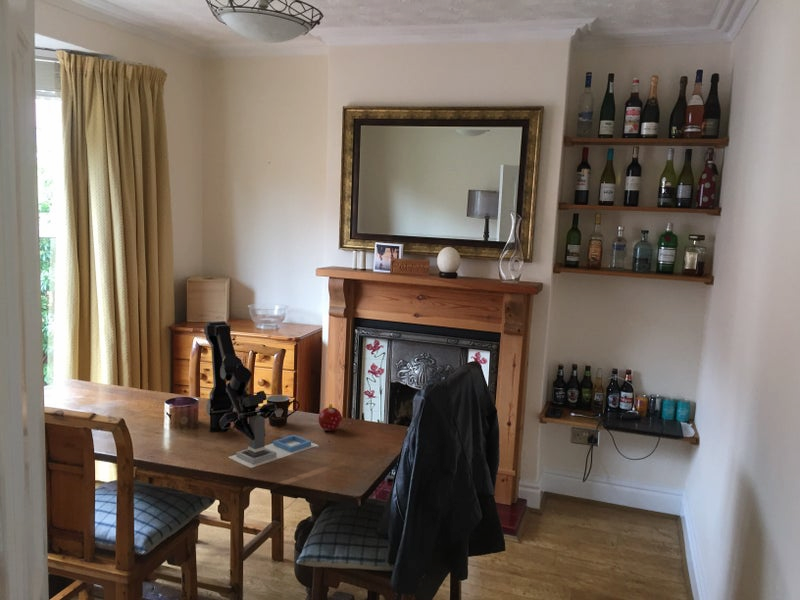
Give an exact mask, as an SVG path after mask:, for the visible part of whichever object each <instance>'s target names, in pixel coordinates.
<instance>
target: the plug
mask: <svg viewBox="0 0 800 600" xmlns="http://www.w3.org/2000/svg"><path fill="white" fill-rule="evenodd" d="M265 420H266V419H265V418H264V417H261V416H259V415H257V416H253V417H249V418H248V424H249V426H250V428H251V430H252V432H253V434H254V437H255V439H254V440H251V439H250V438H249V437H248V445H247V449H248V450H246V451H245V454H246V455H248V456H250V457H252V458H257V457H260V456H263V455H266V454H268V451H266V450H265V446H266V445H265V437H266V426H265V424H266V421H265Z"/></svg>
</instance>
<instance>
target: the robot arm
mask: <svg viewBox="0 0 800 600" xmlns="http://www.w3.org/2000/svg"><path fill="white" fill-rule="evenodd" d="M206 323H207V324H205V325H203V326H204V327H203V332H204V335H205V340H206V341H207V342H208V344H209V345H210V349H211V350H210V351H211V360H212V361H211V365H212V380H213V381H212V382H213V386H212V388H211V391H210V392H209V398H208V400H207V402H206V406H205V408H206V414H207V415H208V416H209V429H208V431H209V432H228V431H229V429H230V428H231V425H232V424H233V426H232V429H236V430H237V431H239V432H240V433H242V434H244V436H246V437H247V438H248V439H249V438H250V439H251V440H254V439H255V437H254V434H253V432H252V430H251V428H250V426H249V417H253V416H257V415H259V416H261V417H264V418H265V420H266V419H269V417H271V415H272V414H273V413H274V412H275V411H276V409H277V408H276V406H275V404H274V403H268V404H267V403H265V404H264V402H265V401H267V397H268V396H267V394H266V392H265V391H264V390H259V391H257V392H256V394H252V393H249V392H248V390H247V388H248V386H249V384H250V380H251V379H252V371H251V370H250V369H249V368H247V367H246V366H245V365H244V363H243V362H242V359H241V358H240V357H238V356H237V354H236V351H235V347H234V343H233V339H232V335H231V324H229V323H226V321H225V320H224V321H223V320H221V321H218V320H217V321H207V322H206ZM227 382H228V383H227ZM260 404H262V406H260V409H258V408H259V405H260ZM234 409H235V410H234Z"/></svg>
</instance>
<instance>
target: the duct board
mask: <svg viewBox="0 0 800 600" xmlns="http://www.w3.org/2000/svg"><path fill="white" fill-rule="evenodd" d="M264 446H265V450H266V451H268V454H266V455H263V456H260V457H257V458H252V457H250V456H248V455H246V454H245V451H246V450H248V448H246V449H242V450H240V451H236V453H235V454H234V455H230V456H228V458H229V459H231V460H233V461H235V462H237V463H239V464H241V465H244V466H246V467H248V468H250V469H252V468H254V467H257V466H261V465H264V464H268V463H270V462H273V461H277V460H279V459H282V458H285V457H288V456H291V455H294V454H298V453H301V452H303V451H306V450H308V449H312V448H319V447H320V446H319V444H316V443H314V442H312V441H311V440H309V439H306V438H304V437H302V436H298V435H296V434H291V435H289V436H286V437H282V438H278V439H274V440H273V442H272V443H269V444H266V445H264ZM319 449H320V448H319Z"/></svg>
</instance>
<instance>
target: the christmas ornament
mask: <svg viewBox="0 0 800 600" xmlns="http://www.w3.org/2000/svg"><path fill="white" fill-rule="evenodd" d="M342 421H343V416H342V414H341V411H340V410H338V409H337V408H336V407H333V404H332V403H329V405H328V407H326V408H324V409H321V411H320V413H319V414H318V423H319V424H318V425H319V426H320V427H321V428H322V429H323V430H324V431H327V432H333V431H335V430H337V429H338V428H340V427H341V424H342Z"/></svg>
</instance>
